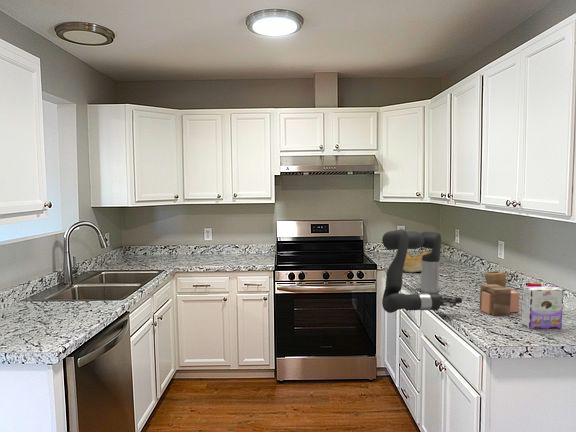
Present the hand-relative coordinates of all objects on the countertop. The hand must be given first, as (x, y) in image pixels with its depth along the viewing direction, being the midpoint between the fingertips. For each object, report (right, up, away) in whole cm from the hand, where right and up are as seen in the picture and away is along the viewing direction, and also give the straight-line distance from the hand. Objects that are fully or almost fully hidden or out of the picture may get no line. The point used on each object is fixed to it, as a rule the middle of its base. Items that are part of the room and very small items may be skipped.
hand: (460, 300), depth 179 cm
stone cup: (+30, -5, +25) cm, 40 cm away
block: (+20, -7, +5) cm, 22 cm away
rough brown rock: (+10, -1, +95) cm, 96 cm away
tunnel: (+17, -7, +4) cm, 19 cm away
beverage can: (+42, -6, +14) cm, 45 cm away
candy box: (+27, -8, -14) cm, 32 cm away
